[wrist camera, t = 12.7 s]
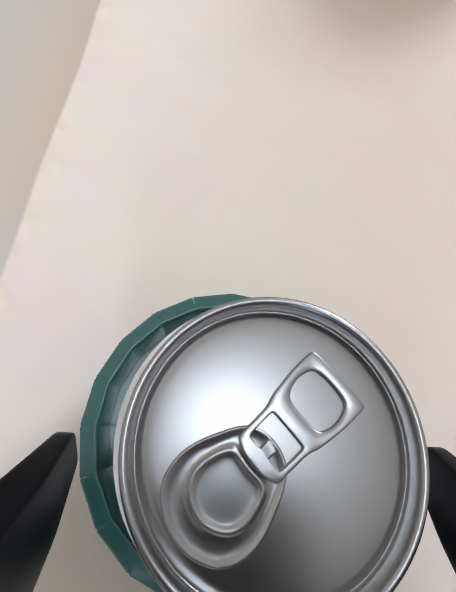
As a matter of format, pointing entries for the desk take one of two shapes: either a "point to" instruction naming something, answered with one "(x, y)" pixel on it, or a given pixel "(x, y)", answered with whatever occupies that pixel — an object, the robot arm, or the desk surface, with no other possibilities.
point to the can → (271, 455)
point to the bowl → (103, 422)
